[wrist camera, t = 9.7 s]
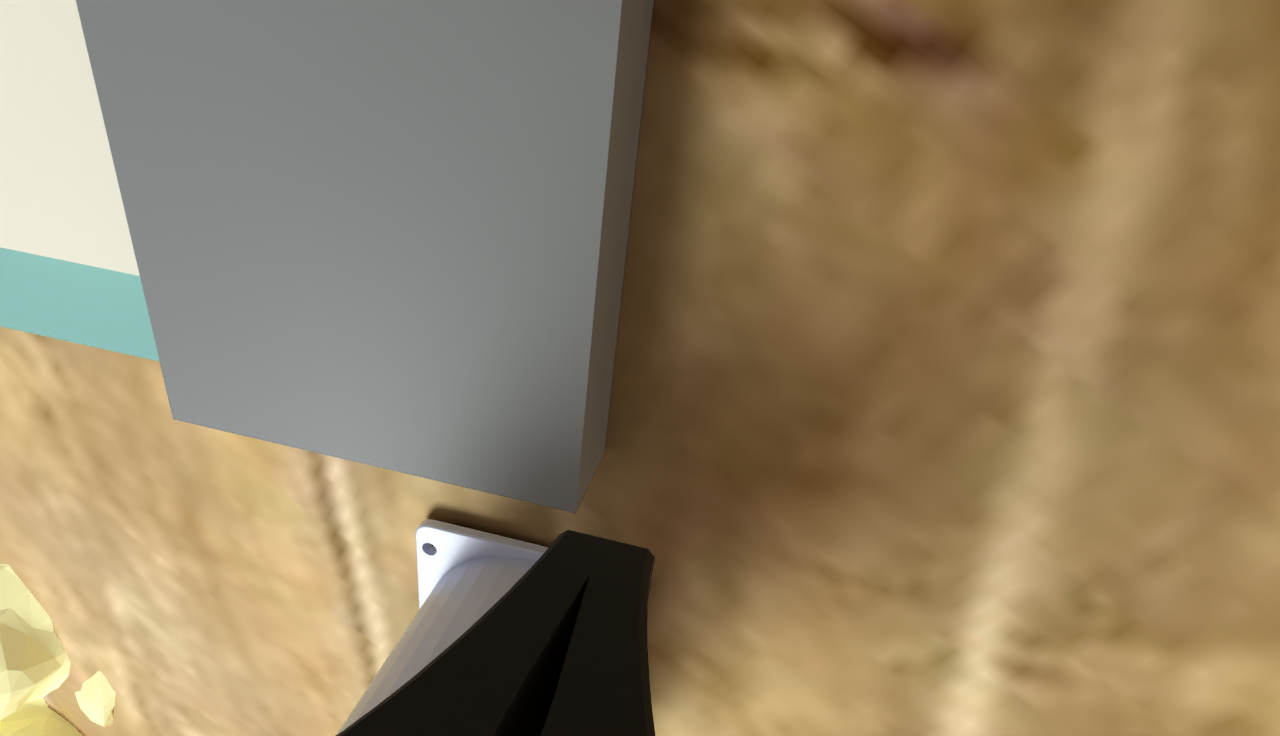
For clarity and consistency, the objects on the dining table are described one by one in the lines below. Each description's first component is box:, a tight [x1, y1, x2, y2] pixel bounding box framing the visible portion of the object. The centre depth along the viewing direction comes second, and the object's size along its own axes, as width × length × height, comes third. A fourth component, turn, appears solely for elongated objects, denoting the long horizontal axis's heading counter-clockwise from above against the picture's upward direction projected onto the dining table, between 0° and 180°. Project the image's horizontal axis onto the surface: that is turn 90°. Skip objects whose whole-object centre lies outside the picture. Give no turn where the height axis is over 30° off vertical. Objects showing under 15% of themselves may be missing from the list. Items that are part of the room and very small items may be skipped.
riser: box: [76, 0, 654, 513], centre depth 17 cm, size 16×12×3 cm
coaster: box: [0, 0, 140, 276], centre depth 18 cm, size 8×8×2 cm
